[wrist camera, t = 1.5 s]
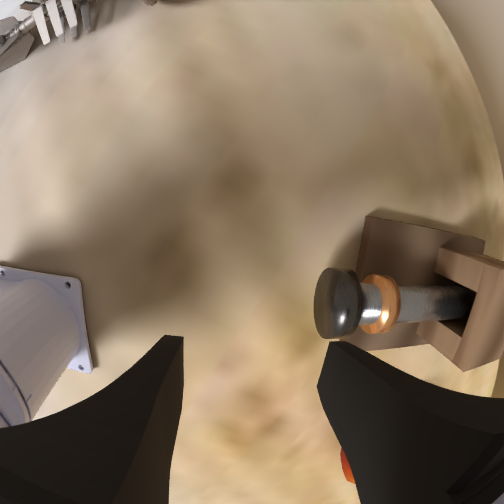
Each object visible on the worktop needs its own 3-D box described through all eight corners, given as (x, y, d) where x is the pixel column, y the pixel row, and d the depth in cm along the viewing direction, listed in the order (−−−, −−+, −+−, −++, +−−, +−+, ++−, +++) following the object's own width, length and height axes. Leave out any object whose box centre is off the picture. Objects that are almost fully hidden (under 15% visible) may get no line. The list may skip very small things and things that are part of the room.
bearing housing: (337, 345, 20) (383, 407, 13) (365, 216, 18) (439, 235, 11) (452, 334, 22) (499, 369, 15) (478, 238, 20) (536, 257, 13)
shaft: (309, 319, 18) (331, 352, 14) (320, 260, 17) (349, 280, 13) (438, 316, 19) (468, 336, 15) (451, 270, 18) (484, 285, 15)
